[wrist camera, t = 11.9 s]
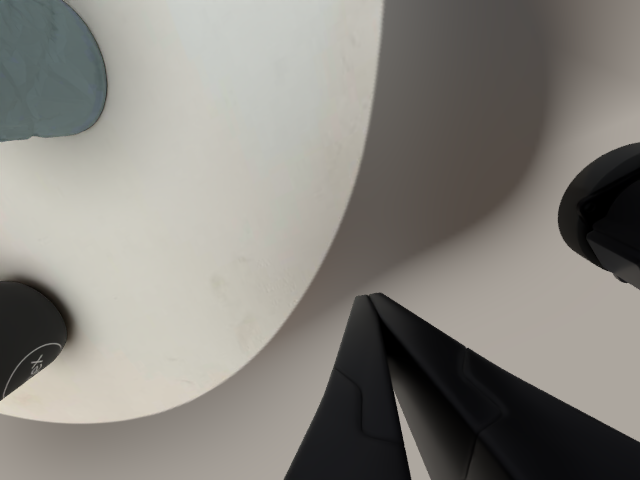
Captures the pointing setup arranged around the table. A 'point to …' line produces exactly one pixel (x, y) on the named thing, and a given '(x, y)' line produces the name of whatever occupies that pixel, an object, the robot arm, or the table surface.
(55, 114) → the blue cup
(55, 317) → the mug
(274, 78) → the table surface
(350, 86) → the table surface
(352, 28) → the table surface
